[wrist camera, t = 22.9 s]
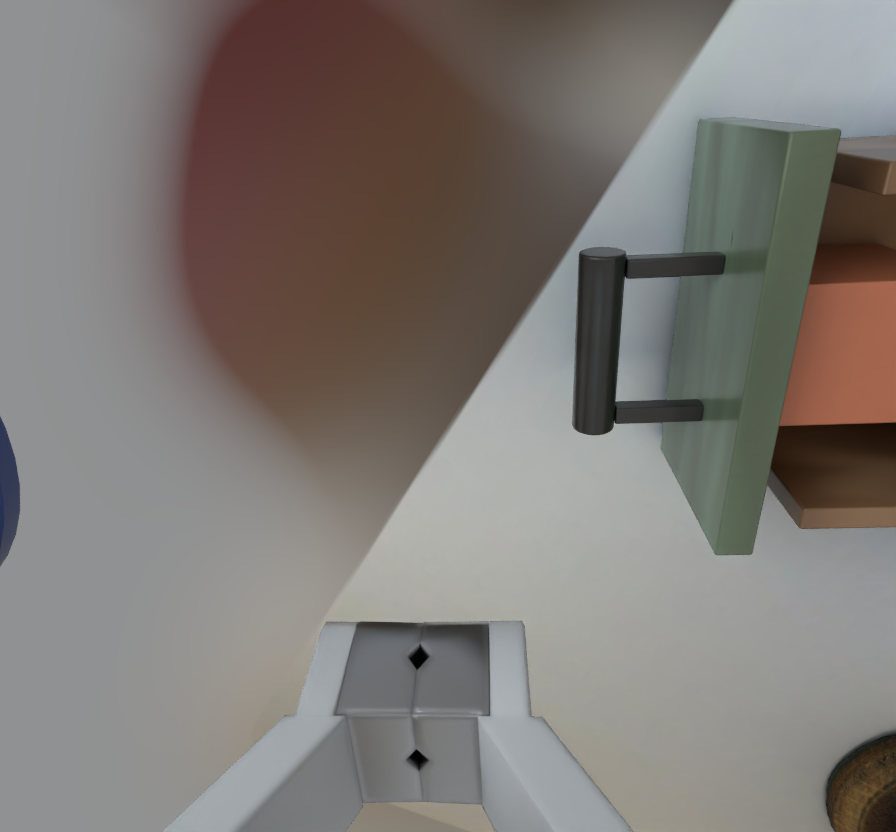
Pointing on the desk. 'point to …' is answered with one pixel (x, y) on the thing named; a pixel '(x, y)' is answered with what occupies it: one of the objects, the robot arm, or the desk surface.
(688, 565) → the desk surface
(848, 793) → the owl figurine
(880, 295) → the block
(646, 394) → the desk surface
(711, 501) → the drawer
